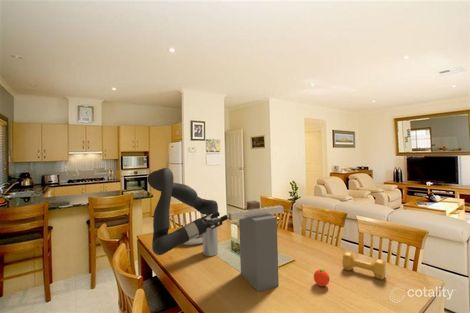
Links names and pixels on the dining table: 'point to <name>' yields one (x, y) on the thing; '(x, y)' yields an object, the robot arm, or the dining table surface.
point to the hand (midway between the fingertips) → (223, 215)
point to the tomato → (321, 277)
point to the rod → (255, 212)
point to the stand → (259, 251)
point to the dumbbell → (364, 265)
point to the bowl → (195, 241)
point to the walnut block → (253, 205)
